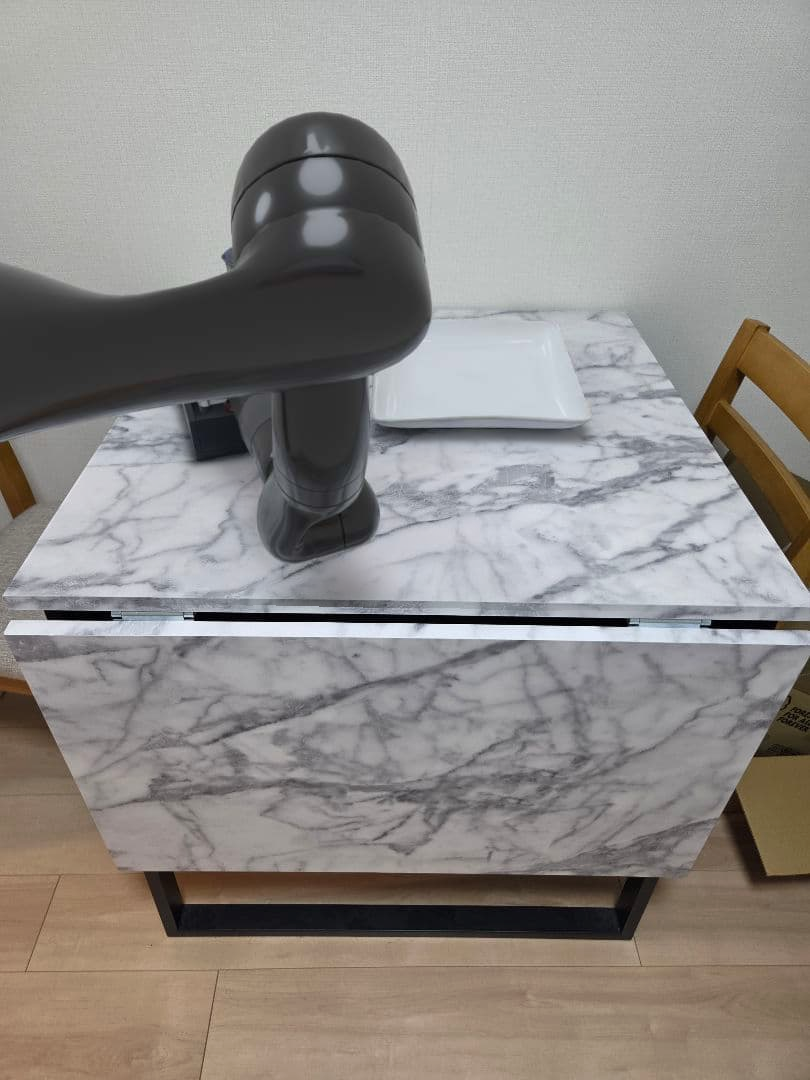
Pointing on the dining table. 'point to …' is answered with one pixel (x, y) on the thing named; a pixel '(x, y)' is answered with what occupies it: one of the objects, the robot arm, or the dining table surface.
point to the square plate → (482, 379)
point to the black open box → (213, 431)
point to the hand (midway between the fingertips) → (244, 350)
